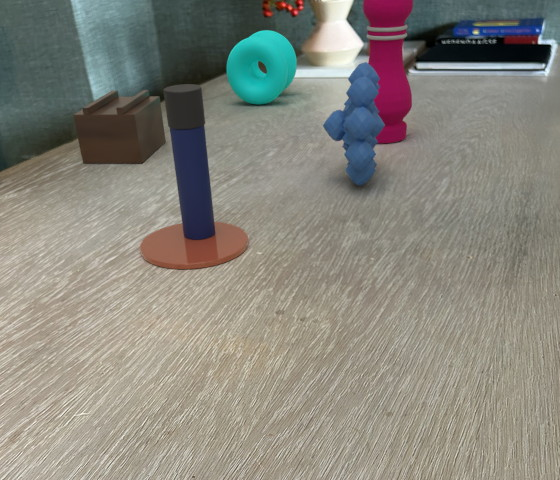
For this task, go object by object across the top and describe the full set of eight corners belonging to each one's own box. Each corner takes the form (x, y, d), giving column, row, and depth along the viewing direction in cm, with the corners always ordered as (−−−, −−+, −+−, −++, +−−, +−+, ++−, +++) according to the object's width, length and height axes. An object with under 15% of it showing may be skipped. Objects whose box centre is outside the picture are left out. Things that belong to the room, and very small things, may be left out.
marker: (194, 91, 55) (206, 83, 57) (157, 92, 55) (170, 84, 58) (210, 241, 62) (220, 228, 65) (178, 239, 63) (188, 226, 65)
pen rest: (142, 163, 85) (133, 107, 81) (82, 163, 86) (71, 107, 82) (165, 141, 93) (158, 89, 89) (111, 141, 94) (102, 90, 91)
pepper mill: (421, 137, 89) (433, -39, 78) (380, 148, 86) (387, -34, 75) (384, 127, 94) (391, -39, 83) (344, 137, 91) (346, -35, 80)
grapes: (327, 163, 82) (327, 56, 75) (383, 163, 81) (388, 54, 74) (318, 196, 72) (316, 76, 65) (381, 196, 71) (386, 75, 64)
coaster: (157, 278, 57) (156, 273, 57) (129, 238, 65) (128, 233, 64) (265, 254, 60) (264, 249, 60) (225, 218, 68) (225, 214, 68)
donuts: (299, 93, 116) (297, 28, 110) (286, 106, 108) (284, 37, 102) (243, 93, 118) (239, 29, 112) (227, 106, 110) (221, 38, 104)
